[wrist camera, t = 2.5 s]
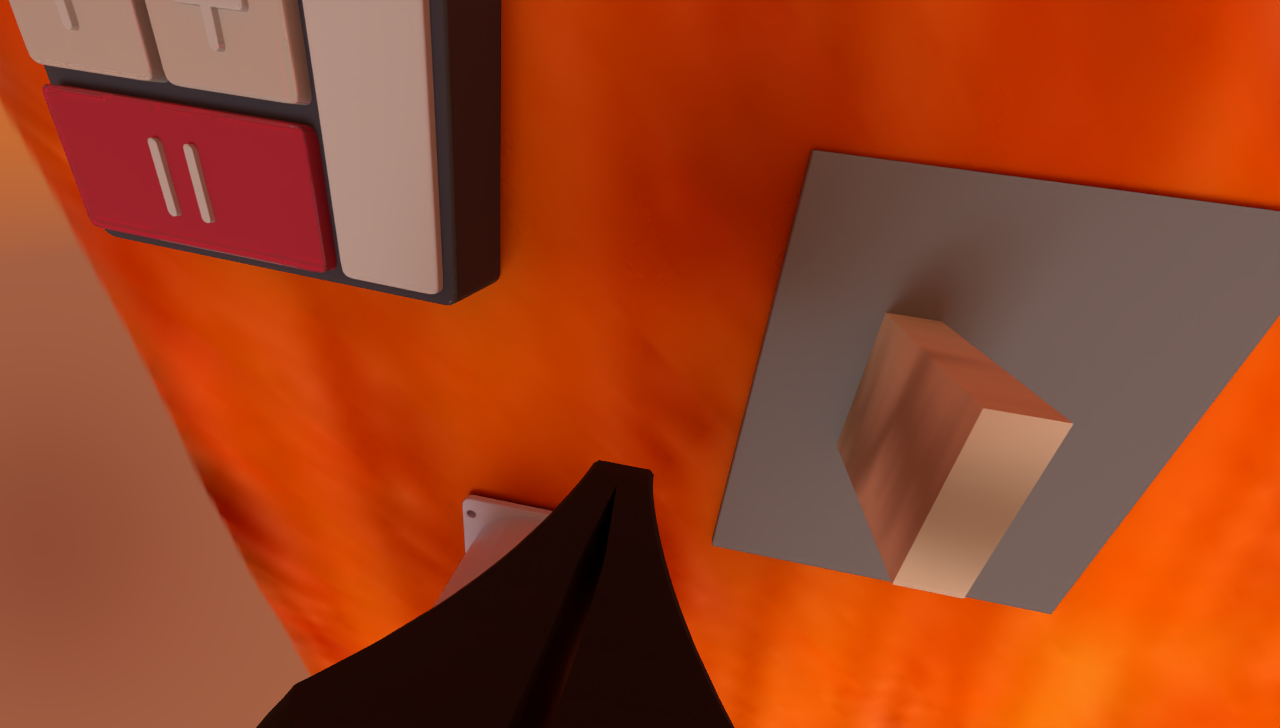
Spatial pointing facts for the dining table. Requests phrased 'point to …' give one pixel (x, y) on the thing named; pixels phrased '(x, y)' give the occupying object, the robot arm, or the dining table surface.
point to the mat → (996, 347)
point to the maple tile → (942, 452)
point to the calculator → (287, 131)
